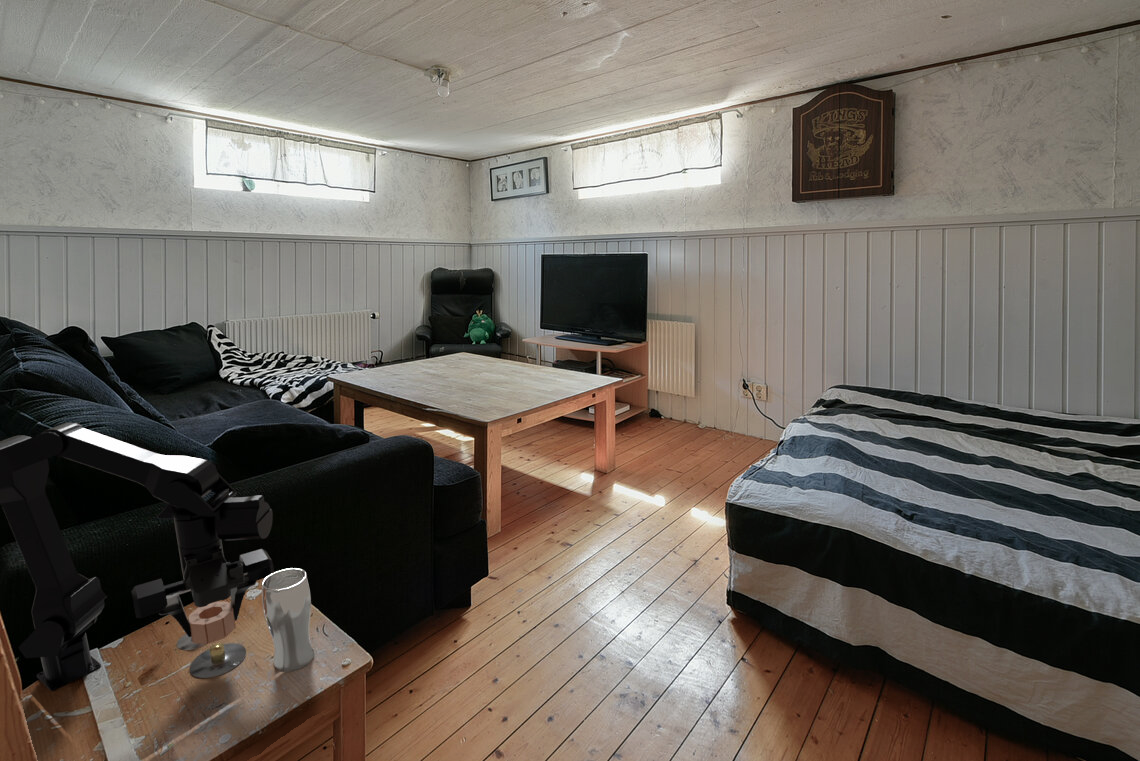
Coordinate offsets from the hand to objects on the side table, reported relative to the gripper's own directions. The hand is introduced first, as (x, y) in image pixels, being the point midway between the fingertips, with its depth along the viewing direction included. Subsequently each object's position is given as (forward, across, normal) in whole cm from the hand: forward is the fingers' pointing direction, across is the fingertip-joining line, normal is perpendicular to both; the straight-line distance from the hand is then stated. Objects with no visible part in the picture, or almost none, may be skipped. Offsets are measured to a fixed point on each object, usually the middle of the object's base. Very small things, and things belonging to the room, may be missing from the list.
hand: (212, 627), depth 93 cm
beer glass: (+7, +10, -7) cm, 14 cm away
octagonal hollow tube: (+1, 0, 0) cm, 1 cm away
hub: (+7, 0, 0) cm, 7 cm away
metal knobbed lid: (+7, -2, +9) cm, 11 cm away
